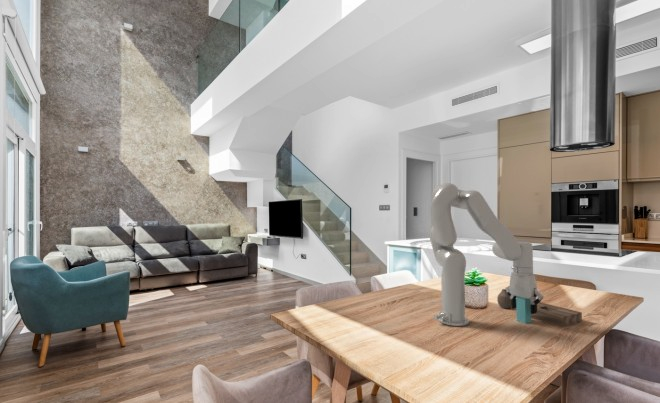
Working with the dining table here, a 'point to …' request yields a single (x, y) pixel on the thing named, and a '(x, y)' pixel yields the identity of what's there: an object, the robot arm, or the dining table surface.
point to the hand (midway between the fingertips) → (523, 310)
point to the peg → (523, 309)
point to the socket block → (556, 315)
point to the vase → (504, 299)
